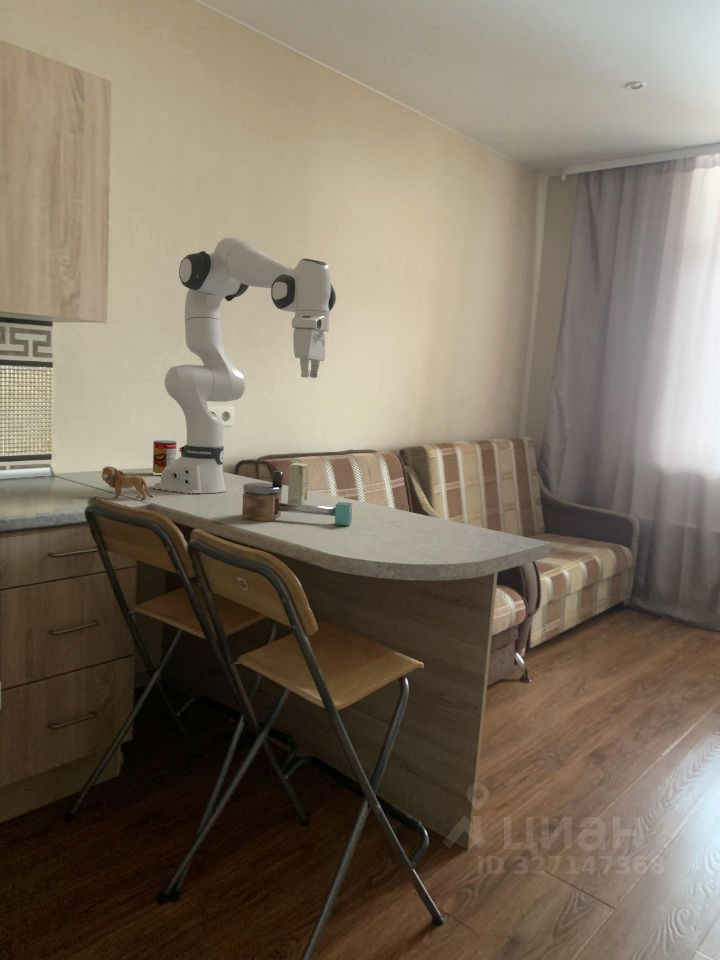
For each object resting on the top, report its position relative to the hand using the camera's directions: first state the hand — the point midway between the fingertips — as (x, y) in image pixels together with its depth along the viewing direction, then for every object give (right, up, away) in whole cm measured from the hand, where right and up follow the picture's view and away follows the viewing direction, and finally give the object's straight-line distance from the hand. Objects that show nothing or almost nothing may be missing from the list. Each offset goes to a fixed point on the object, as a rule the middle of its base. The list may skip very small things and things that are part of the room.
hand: (309, 377), depth 189 cm
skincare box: (-5, -34, +23) cm, 41 cm away
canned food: (-57, -25, +70) cm, 94 cm away
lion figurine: (-54, -32, +19) cm, 66 cm away
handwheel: (-12, -30, +1) cm, 32 cm away
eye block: (-13, -37, +2) cm, 39 cm away
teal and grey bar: (+1, -37, 0) cm, 37 cm away
